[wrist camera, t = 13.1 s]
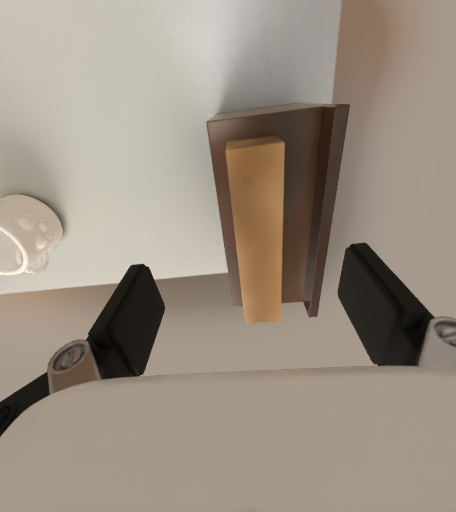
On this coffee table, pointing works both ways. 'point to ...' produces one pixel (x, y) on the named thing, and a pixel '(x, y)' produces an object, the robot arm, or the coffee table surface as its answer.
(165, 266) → the coffee table surface
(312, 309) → the shelf
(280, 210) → the stick
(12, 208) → the mug
